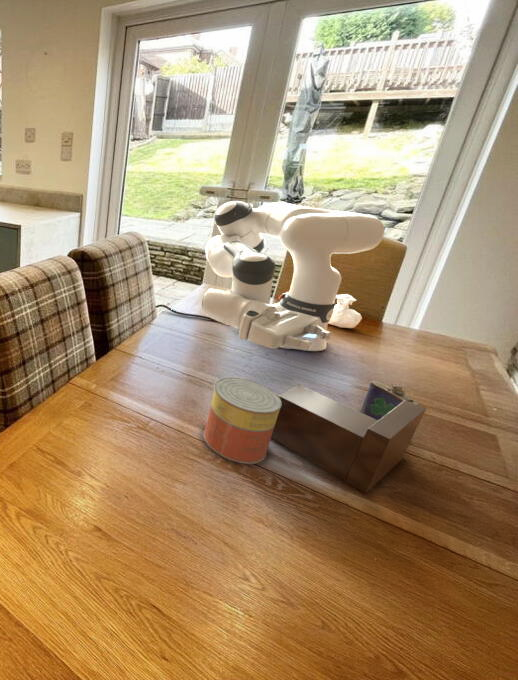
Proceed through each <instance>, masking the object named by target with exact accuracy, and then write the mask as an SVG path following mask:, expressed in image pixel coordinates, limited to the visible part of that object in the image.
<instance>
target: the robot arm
mask: <svg viewBox="0 0 518 680" xmlns="http://www.w3.org/2000/svg"><path fill="white" fill-rule="evenodd" d="M213 220H214V224H215V225H216V226H217V228H218V230H219V232H220V234H218V235H215V236H213V237H211V238H210V239H209V240H208V241H207V243H206V245H205V256H206V260H207V262H208V264H209V267H210V268H211V270H212V271H213V273H215V274H216V275H217V276H219V277H221V278H232V280H231V288H230V289H227V290H222V289H217V288H209V289H207V291H205V292H204V295H203V297H202V299H201V310H202V312H203V313H204V315H201V314H194V313H186V312H181V311H177V310H174V309H173V308H171V307H169V306H167V305H165V304H157V305H155V306H154V308H156V309H158V308H165V309H166V310H168V311H170V312H171V313H174V314H176V315H179V316H186V317H194V318H200V319H205V320H210V321H213V322H217V323H221V324H224V325H226V326H231V327H235V328H237V330H239V331H238V338H239V339H241V340H243V341H248V342H249V341H250V342H252V343H254V344H256V345H259V346H261V347H264V348H268V349H275V350H276V349H278V348H281V349H286V350H287V349H288V350H289V349H290V350H291V349H292V350H298V351H299V350H300V351H306V352H320V351H321V352H322V351H324V350H326V349H327V341H328V340H330V339H332V336H333V332H331V331H330V330H328V327H329V324H328V322H329V321H330V319H331V317H332V315H333V312H334V307H335V305H336V302H335V301H336V299H337V298H336V295H338V292H339V289H340V285H341V283H342V274H340V272H339V271H338V270H337V269H336V268H334V267H332V264H331V257H332V255H333V254H357V253H361V252H366V251H370V250H373V249H375V248H376V247H378V245H380V243H382V240H383V238H384V235H385V226H384V223H383V222H382V221H381V219H379V218H378V217H376V216H372V215H367V214H364V213H356V212H350V211H341V210H333V209H326V208H315V207H308V206H302V205H297V204H292V203H286V202H268V203H265V204H263V205H261V206H259V207H257V208H254V204H253V203H251V202H244V201H241V200H230V201H227V202H225V203H223V204H221V205H220V206H218V207H217V208H216V210H215V211H214V213H213ZM263 234H266V235H268V236H270V237H273V238H276V239H278V240H280V242H281V245H282V246H283V248H284V249H286V250H287V251H288V252H289V254H290V256H291V258H292V262H293V274H292V279H291V284H290V288H289V290H286V291H285V292H284V293H282V294H280V295H278V298H277V300H279V302H276V303H273V304H271V298H272V297H271V296H272V289H273V279H274V276H275V270H276V266H277V265H276V262H275V261H274V259H272V258H271V256H269V255H267V254H266V253H263V252H262V251H263V250H264V249H265V247H266V245H267V244H266V238H265V236H264V235H263ZM171 309H172V310H171Z"/></svg>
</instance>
